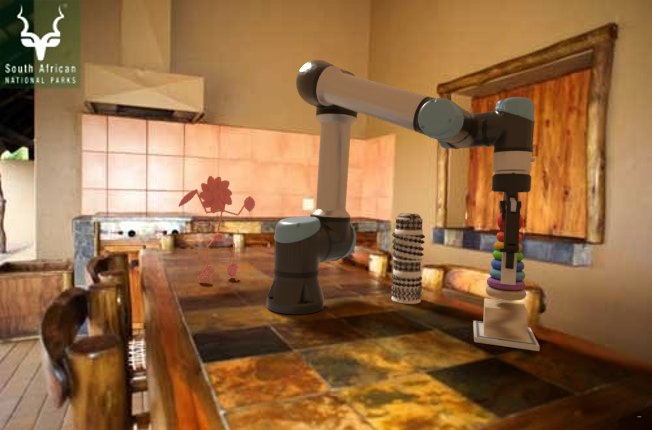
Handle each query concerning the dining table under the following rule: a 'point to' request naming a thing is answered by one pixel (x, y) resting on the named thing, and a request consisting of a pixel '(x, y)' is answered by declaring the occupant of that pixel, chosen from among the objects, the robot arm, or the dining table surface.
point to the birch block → (505, 319)
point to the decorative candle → (407, 259)
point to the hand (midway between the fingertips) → (506, 280)
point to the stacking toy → (494, 281)
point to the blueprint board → (505, 339)
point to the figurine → (217, 198)
